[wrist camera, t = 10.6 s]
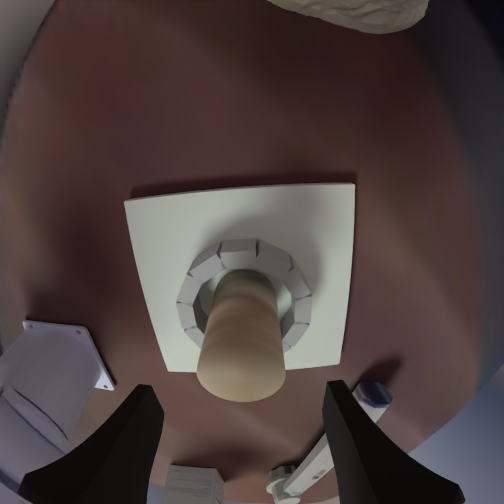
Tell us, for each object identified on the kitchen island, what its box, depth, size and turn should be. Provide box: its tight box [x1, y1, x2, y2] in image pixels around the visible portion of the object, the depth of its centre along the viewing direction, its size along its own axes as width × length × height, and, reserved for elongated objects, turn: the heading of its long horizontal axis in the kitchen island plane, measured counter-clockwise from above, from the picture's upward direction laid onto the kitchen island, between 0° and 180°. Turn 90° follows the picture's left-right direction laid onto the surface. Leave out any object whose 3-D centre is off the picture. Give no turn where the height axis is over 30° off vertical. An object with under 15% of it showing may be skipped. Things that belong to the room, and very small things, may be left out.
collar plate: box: [124, 183, 355, 372], centre depth 18 cm, size 14×14×3 cm
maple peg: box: [197, 269, 286, 402], centre depth 15 cm, size 4×4×7 cm
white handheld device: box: [266, 381, 393, 504], centre depth 25 cm, size 5×7×25 cm
